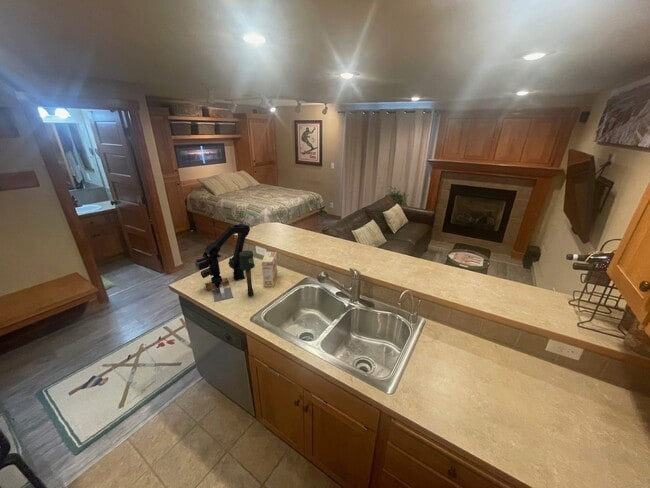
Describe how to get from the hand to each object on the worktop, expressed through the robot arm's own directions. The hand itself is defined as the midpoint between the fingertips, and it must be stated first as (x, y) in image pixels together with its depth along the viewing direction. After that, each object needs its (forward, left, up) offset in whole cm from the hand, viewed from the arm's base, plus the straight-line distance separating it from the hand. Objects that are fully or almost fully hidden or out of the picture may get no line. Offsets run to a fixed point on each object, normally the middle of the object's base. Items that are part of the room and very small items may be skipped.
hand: (217, 285), depth 173 cm
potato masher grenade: (-18, +19, -1) cm, 26 cm away
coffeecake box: (-34, +8, -1) cm, 35 cm away
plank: (0, 0, -1) cm, 1 cm away
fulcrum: (-2, +11, -1) cm, 11 cm away
